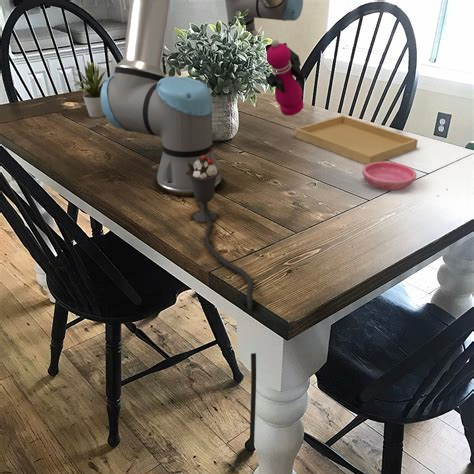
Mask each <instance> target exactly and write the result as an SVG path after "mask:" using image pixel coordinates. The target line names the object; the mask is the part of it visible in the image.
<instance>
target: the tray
mask: <svg viewBox="0 0 474 474" xmlns="http://www.w3.org/2000/svg"><path fill="white" fill-rule="evenodd" d="M294 137H295V138H296V139H299V140H302V141H304V142H306V143H309V144H312V145H314V146H316V147H320V148H322V149H325V150H327V151H330V152H333V153H335V154H337V155H340V156H343V157H345V158H348V159H351V160H353V161H355V162H358V163H361V164H363V165H365V166H366V165H367V164H370V163H374V162H385V161H386V160H389V159H391V158H395V157H397V156H400V155H403V154H405V153H408V152H411V151H414V150H417V147H418V142H419V139H416V138H414V137H410V136H408V135H405V134H402V133H398V132H395V131H392V130H388V129H385V128H382V127H379V126H376V125H373V124H370V123H367V122H364V121H360V120H358V119H356V118H355V119H354V118H351V117H349V116H346V115H339V116H336V117H332V118H328V119H325V120H321V121H318V122H315V123H314V122H313V123H311V124H307V125H303V126H300V127H297V128H295V130H294Z"/></svg>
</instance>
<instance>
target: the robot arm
mask: <svg viewBox="0 0 474 474" xmlns="http://www.w3.org/2000/svg"><path fill="white" fill-rule="evenodd" d="M224 2H225V9H226V16H227V25H226V27H227V26H230V24H231V20H232V19H233V18H234V16H235V14H236V12H237V11H240V12H242V11H243V10H245V9H249V12H248V14H247V15H246V16H244V17H243V18H244V20H245V21H246V31H248V32H250V33H251V34H252V35H253V36H256V35H257V34H258V35H262V34H261V33H259V31H258V30H256V26H255V19H266V20H273V21H274V20H276V21H283V22H289V21H290V22H293V21H294V22H295V21H297V20H298V19H299V18H300V16H301V15H302V12H303V7H304V0H224ZM170 6H171V0H130V2H129V9H128V17H127V25H126V31H125V33H126V34H125V40H124V48H123V49H124V50H123V57H122V60H121V61H120V62H118V63H117V64H115V66H114V72H113V75H111V76H109V77H107V78H106V79H105V80H106V81H105V82H104V83H103V86H102V89H101V90H100V91H101V107H102V110H103V113H104V115H105V116H104V117H105V118H106V120H107V121H108V122H109V124H110V125H112V126H113V127H114V128H117V129H121V130H123V131H126V132H131V133H132V132H134V133H139V134H143V135H148V136H153V137H159V138H160V139H161V140H160V141H161V150H162V153H161V158H160V162H159V166H158V170H157V174H156V175H157V176H156V185H157V187H158V189H159V190H160V191H162V192H164V193H166V194H169V195H172V196H176V197H177V196H178V197H195V195H194V192H193V186H192V181H191V178H190V176H188V175H186V173H187V172H188V170H189V169H190V168H189V166H188V164H187V163H191V164H192V166H193V167H194V163H195V162H196V161H197V160H198V159H200V158H202V156H203V155H206V154H207V153H208V152H209V153H208V154H207V155H206V156H207V159H210V158H211V159H212V160H213V164H214V165H215V167H216V168H217V169H218V170H219V172H220V175H218V176H217V177H216V182H215V191H216V190H217V189H219V188H220V186H221V185H222V174H221V170H220V168H219V165H218V162H217V159H216V156H215V154H214V150H210V148H213V149H214V145H213V108H214V107H213V104H212V94H211V90H210V89H209V87H208V85H207V84H206V83H204V82H202V81H201V80H198V79H195V78H191V77H186V76H166V74H165V73H164V71H163V70H162V61H163V54H164V46H165V41H166V32H167V28H168V27H167V26H168V20H169V13H170ZM282 44H285V45H286V46H287V47H288V44H287V42H283V43H282ZM271 46H272V43H271V44H270V45H267V46H266V51H268V49H269V48H270V47H271ZM288 48H289V50H290V59H289V60H290V62H291V68H290V69H291V73H292V76H293V77H294V79H295V80H298V82H299V83H301V84H303V83H304V82H305V79H304V75H303V72H302V71H301V59H300V55H298V54H297V53H296V52H295V51H293V50H292V49H291V48H290V47H288ZM269 75H270V76H269V77H268V78H267V81H268V84H269V85H270V86H269V87H271V88H276V87H277V88H278V89H279V90H280V91H281V92H282V93H284V92H285V89H284V85H283V82H282V81H280V80H279V79H278V78H277V77H276V76H275V74H274V73H273V72H270V73H269ZM211 151H212V152H211ZM210 152H211V154H210ZM209 156H210V157H209ZM197 202H198V205H199V207H200V209H201V210H202V203H201V202H200V201H198V200H197ZM201 210H200V211H201ZM205 217H206V220H207V222H206V223H207V227H206V231H205V233H204V244H205V247H206V248H207V250H208V251H209V253H210V254H211V255H212V256H214V258H215V259H216V260H217V261H219V262H220V263H221V264H222V265H223V266H224V267H226V268H227V269H230V270H231V271H233V272H235V273H236V274H239V275H240V276H241V277H242V278H243V279H244V280H245V281H246V283H247V289H246V305H247V306H246V307H247V309H248V310H253V309H254V303H253V302H254V301H253V291H254V281H253V280H252V278H251V277H250V275H249V274H248V273H246V271H244V270H243V269H241V268H240V267H238V266H237V265H235V264H234V263H233V264H232V263H231V262H229V261H228V260H226V259H225V258H224V257H223V256H222V255H221V254H219V253H218V251H216V249H215V248H214V247H213V246H212V244H211V242H210V236H211V233H212V229H213V223H212V222H213V221H211V218H210V216H209V215H208V214H207V215H206V216H205ZM250 382H251V383H250V412H249V413H250V415H249V416H250V417H249V449H251V450H254V449H255V437H256V436H255V435H256V434H255V433H256V431H255V430H256V404H257V403H256V401H257V352H253V353H252V352H251V353H250Z"/></svg>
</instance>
